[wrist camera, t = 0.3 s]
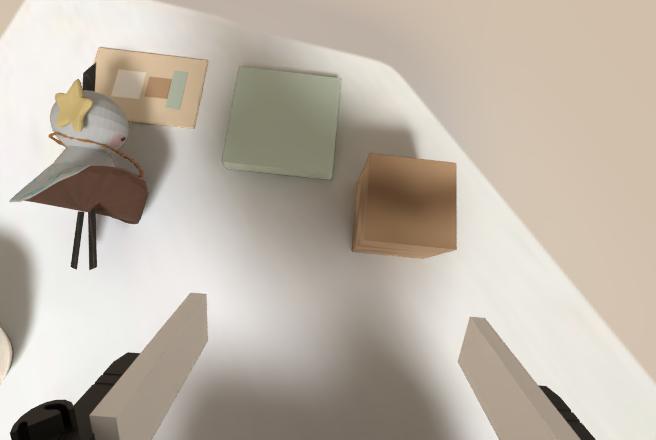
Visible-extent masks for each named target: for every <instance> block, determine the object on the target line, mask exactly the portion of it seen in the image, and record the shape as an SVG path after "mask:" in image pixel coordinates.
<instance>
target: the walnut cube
mask: <svg viewBox="0 0 656 440" xmlns="http://www.w3.org/2000/svg"><path fill="white" fill-rule="evenodd" d="M453 250H457V246H456V163H452V162H443V161H434V160H425V159H416V158H407V157H398V156H389V155H380V154H371V153H370V154H369V157H368V159H367V161H366V163H365V166H364V168H363V170H362V173H361V175H360V177H359V179H358V182H357V189H356V203H355V216H354V230H353V243H352V252H362V253H372V254H382V255H392V256H402V257H413V258H423V259H424V258H427V257H431V256H435V255H438V254H442V253H446V252H449V251H453Z"/></svg>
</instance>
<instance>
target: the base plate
mask: <svg viewBox="0 0 656 440" xmlns="http://www.w3.org/2000/svg"><path fill="white" fill-rule="evenodd" d="M340 89H341V78H336V77H327V76H319V75H310V74H302V73H293V72H285V71H276V70H268V69H259V68H251V67H243V66H239V70H238V75H237V81H236V86H235V92H234V97H233V103H232V108H231V114H230V119H229V125H228V130H227V136H226V141H225V147H224V152H223V157H222V163H223V164H224V166H225V167H226V169H233V170H243V171H252V172H261V173H271V174H280V175H289V176H299V177H308V178H317V179H327V180H331V179H332V173H333V163H334V152H335V142H336V131H337V120H338V110H339V99H340Z"/></svg>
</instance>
